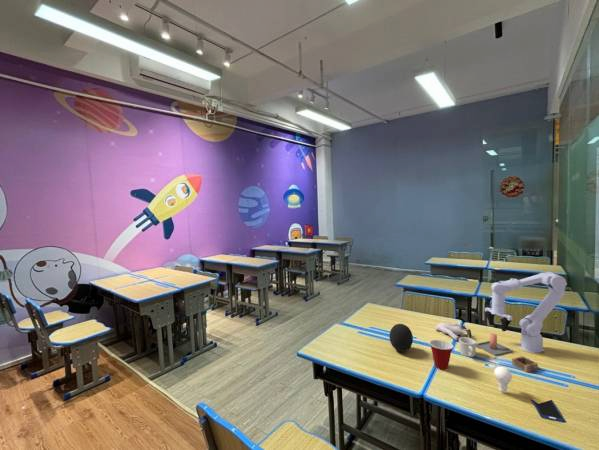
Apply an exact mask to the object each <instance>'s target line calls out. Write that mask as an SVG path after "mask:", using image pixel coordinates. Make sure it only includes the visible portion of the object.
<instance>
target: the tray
mask: <svg viewBox="0 0 599 450" xmlns="http://www.w3.org/2000/svg"><path fill="white" fill-rule="evenodd" d="M476 348H478V349H479V350H483V351H485V352H487V353H489V354H491V355H492V356H495V357H497V356H498V357H499V356H501V355H506V354H510V353H513V352H514V351H513V349H511V348H509V347H506V346H505V345H502V344H500V343H498V342H497V350H493V349H491V348H490V340H488V341H482V342H478V343H477V342H476Z"/></svg>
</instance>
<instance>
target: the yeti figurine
mask: <svg viewBox="0 0 599 450" xmlns="http://www.w3.org/2000/svg"><path fill="white" fill-rule="evenodd" d="M434 329H435V331H439V332H442V333H444V334H446V335H449V337H450V338H452V339H453V340H454V341H456V342H457V343H459V338H461V336H460V335H461V334H465V333H466V334H467V336H468V337H467V338H472V331H471V329H470V328H469V329H467V327H466V325H460V324H458V323H455V322H452V323H448V322H440V323H438V324H437V325H435V327H434Z"/></svg>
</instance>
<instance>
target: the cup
mask: <svg viewBox="0 0 599 450" xmlns="http://www.w3.org/2000/svg"><path fill="white" fill-rule="evenodd" d="M460 337H461V336H460ZM458 344H459V352H460V354H461V355H462V356H464V357H467V358H472V357H475V356H476V348H477V347H476V344H477V341H476V340H475V339H473V338H472V337H470V338H469V337H465V336H463V337H461V338H459V342H458Z"/></svg>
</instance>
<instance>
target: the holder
mask: <svg viewBox="0 0 599 450" xmlns="http://www.w3.org/2000/svg"><path fill="white" fill-rule="evenodd" d="M511 366H513V367H516V368H518V369H520V370H521V371H523V372H525V373H530V372H534V371H538V369H539V368H538V367H539V364H538V363H537V362H536V361H533V360H531V359H530V358H527V357H525V356H517V357H514V358H511Z"/></svg>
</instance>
